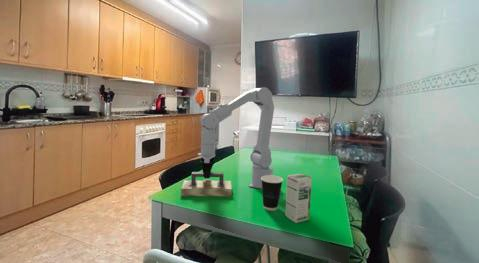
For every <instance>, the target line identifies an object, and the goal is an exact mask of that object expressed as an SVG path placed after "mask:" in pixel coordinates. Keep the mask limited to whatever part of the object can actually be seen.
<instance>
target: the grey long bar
mask: <svg viewBox="0 0 479 263" xmlns="http://www.w3.org/2000/svg"><path fill="white" fill-rule="evenodd" d="M197 178H204V175H203V171H192V172H191V179H190V180H191V184H196V181H197ZM210 178H219V180H218V181H219V185H223V181H224V172H219V171H218V172H215V171H211V174H210Z"/></svg>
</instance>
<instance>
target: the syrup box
mask: <svg viewBox="0 0 479 263" xmlns="http://www.w3.org/2000/svg"><path fill="white" fill-rule="evenodd" d="M312 183H313V178H312V177H311V176H309V175H306V174H304V173H297V174H288V175H287V177H286V193H285V195H286V198H285V217H287V219H289V220H291V221H292V222H293V223H294V224H295V223H296V224H297V223H301V222H305V221H309V220H310V217H311V216H310V214H311V213H310V212H311V197H312Z"/></svg>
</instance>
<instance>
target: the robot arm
mask: <svg viewBox="0 0 479 263" xmlns="http://www.w3.org/2000/svg"><path fill="white" fill-rule="evenodd" d="M249 102H250V103H251V102H252V103H253V104H255V105H257V106H258V108H259V109H260V110H261V112H260V117H259V126H258V132H257V140H256V145H255V146H254V147H253V151H252V152H251V154H250V156H249V157H250V161H251V163H252V168H251V169H252V171H251V172H252V173H251V183H250V184H249V185H248V187H249V188H255V189H256V188H257V189H261V190H262V180H261V177H262V176H266V175H273V176H274V168H272V167H270V166H271V164H272V162H273V160H272V156H271V155H272V151H271V149H270V138H271V134H272V133H271V131H272V126H273V121H274V120H273V118H274V113H275V112H274V111H275V104H274V100H273V93H272V91H271V90H270V89H269V88H267V87H265V86H264V87H263V86H262V87H252V88H251V89H249V90H246V91H245V92H244V93H242V94H241V95H239V96H238V97H236V98H235V99H233V100H232V101H230V102H229V103H225V102H224V103H219V104H218V106H217V107H216V108H214V109H212V110H211V109H210V110H208V113H204V114H202V115H201V117H200V120H199V124H200V126H201V132H200V152H198V153H197V156H198V157H201V160H200V161H199V163H200V166H201V169H202V172H203V175H204V177H203V178H204V179H211V177H210V174H211V172H212V169H213V166H214V165H215V161H214V160H215V159H216V158H215V157H216V127H217V126H218V124H219V123H222V122H223V121H224V120H226V119H227V118H229V117H230V116H232V113H233V111H234V110H236V109H238V108H240V107H241V106H243V105H245V104H246V103H249Z"/></svg>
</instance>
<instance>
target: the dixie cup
mask: <svg viewBox="0 0 479 263" xmlns="http://www.w3.org/2000/svg"><path fill="white" fill-rule="evenodd" d="M261 180H262V189H261V190H262V193H261V195H262V206H263V208H264V209H265V210H266V211H270V212H271V211H277V210H278V206H279V203H280V202H279V201H280V196H281V192H282V185H283V182H284V178H283V177H281V176H278V175H274V174H273V175H266V176H262V177H261Z"/></svg>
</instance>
